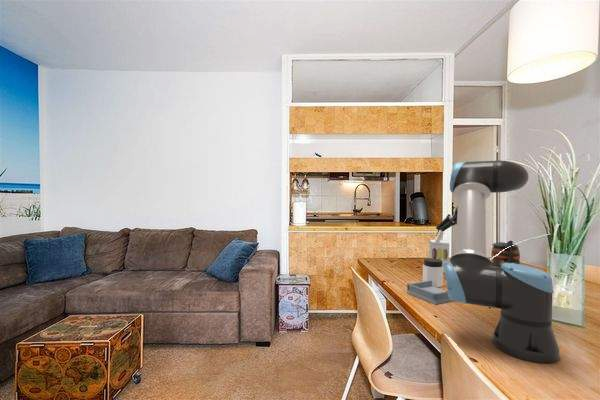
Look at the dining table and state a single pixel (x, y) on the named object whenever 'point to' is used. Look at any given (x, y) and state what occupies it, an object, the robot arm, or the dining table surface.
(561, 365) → the dining table surface
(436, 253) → the supplement box
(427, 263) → the jar
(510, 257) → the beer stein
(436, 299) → the dock bay
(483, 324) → the dining table surface
